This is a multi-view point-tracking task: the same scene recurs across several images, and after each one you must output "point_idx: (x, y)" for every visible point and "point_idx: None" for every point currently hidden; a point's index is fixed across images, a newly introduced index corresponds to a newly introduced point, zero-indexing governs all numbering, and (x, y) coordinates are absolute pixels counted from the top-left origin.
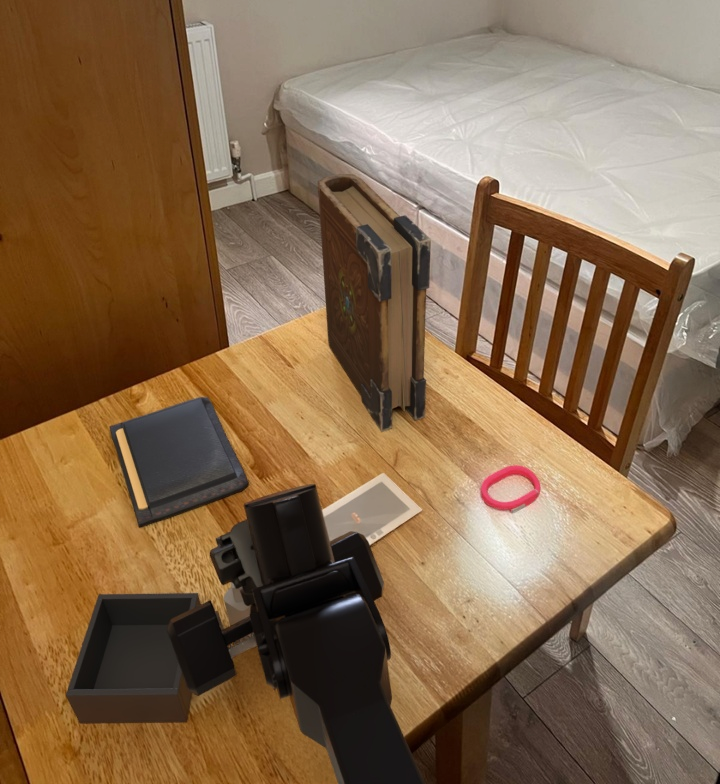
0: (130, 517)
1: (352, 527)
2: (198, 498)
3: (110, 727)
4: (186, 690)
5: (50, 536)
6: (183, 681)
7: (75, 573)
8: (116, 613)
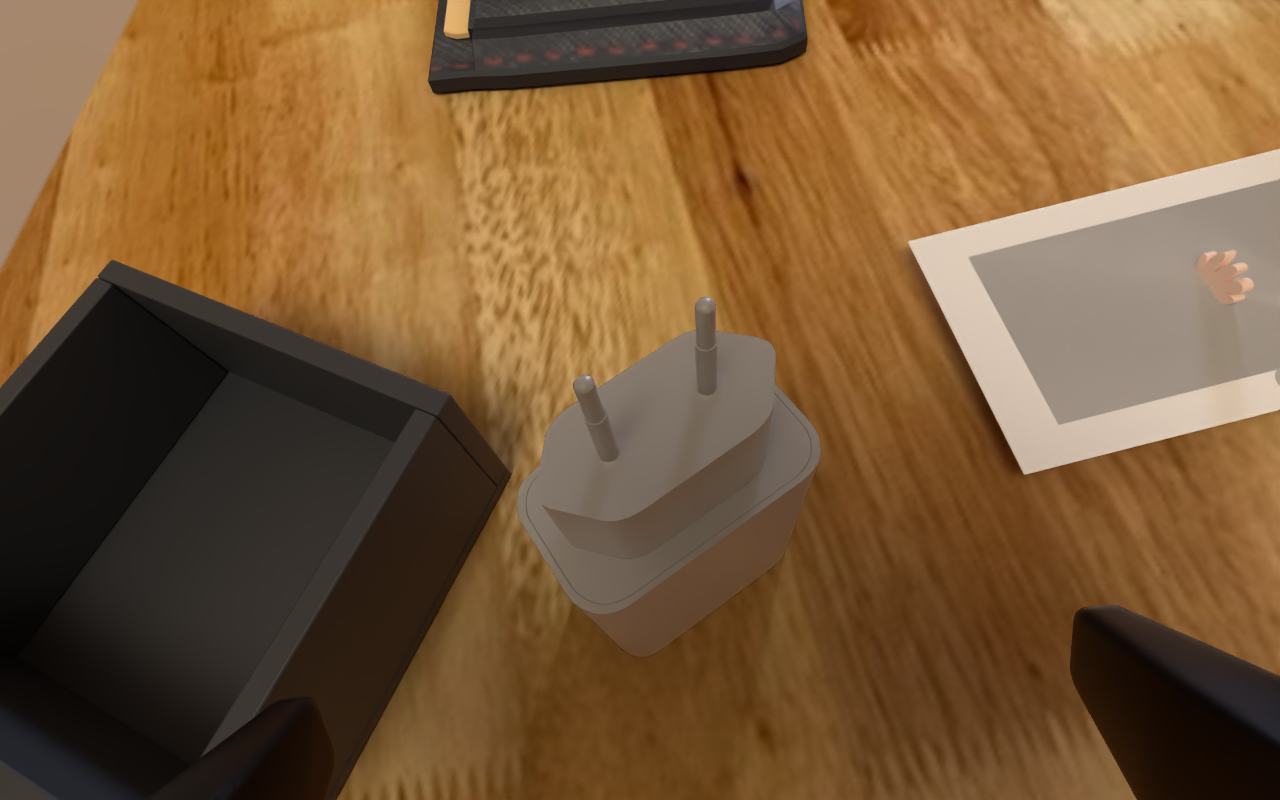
0: (424, 58)
1: (1192, 310)
2: (628, 46)
3: None
4: None
5: (212, 54)
6: None
7: (221, 173)
8: (205, 345)
